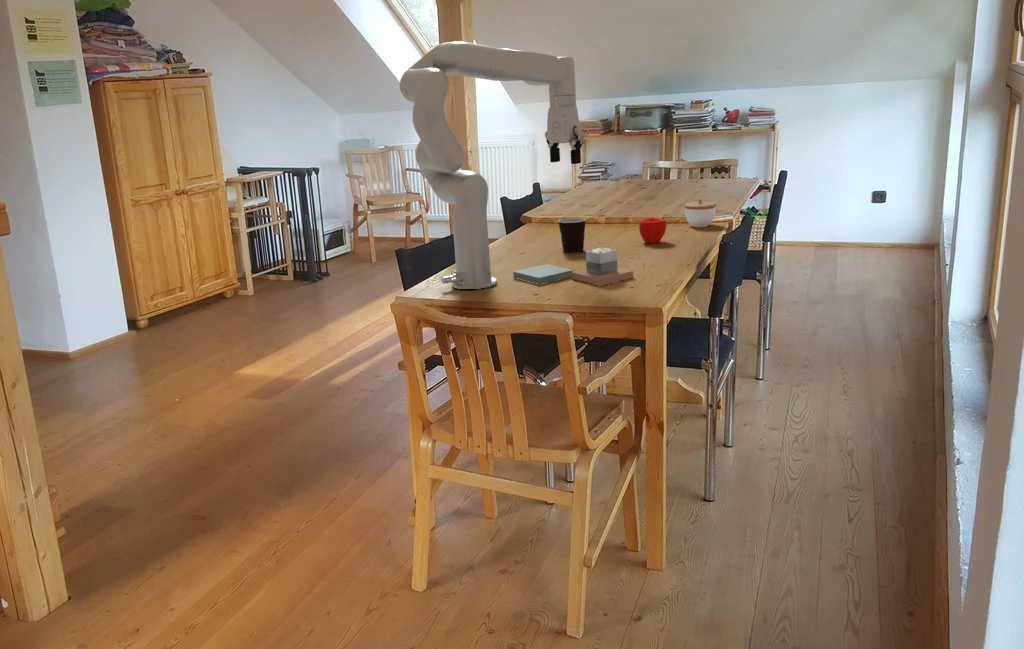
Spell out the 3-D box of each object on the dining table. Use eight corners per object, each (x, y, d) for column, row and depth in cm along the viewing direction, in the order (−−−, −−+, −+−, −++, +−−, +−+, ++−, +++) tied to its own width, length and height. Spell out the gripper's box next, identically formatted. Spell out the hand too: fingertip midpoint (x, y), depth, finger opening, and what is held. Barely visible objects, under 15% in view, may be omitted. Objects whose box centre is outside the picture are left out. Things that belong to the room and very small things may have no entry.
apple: (671, 242, 280) (671, 218, 278) (648, 246, 277) (647, 222, 275) (657, 238, 288) (657, 215, 286) (634, 242, 285) (633, 218, 283)
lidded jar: (719, 223, 307) (720, 197, 304) (709, 229, 298) (709, 202, 296) (691, 222, 313) (691, 196, 310) (680, 227, 304) (679, 201, 301)
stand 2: (600, 286, 231) (600, 279, 230) (572, 279, 240) (571, 272, 240) (633, 278, 237) (633, 270, 237) (604, 271, 247) (604, 264, 246)
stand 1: (539, 285, 236) (538, 277, 236) (513, 278, 246) (513, 271, 245) (573, 277, 243) (572, 270, 242) (546, 270, 252) (546, 264, 252)
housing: (601, 275, 234) (600, 253, 232) (586, 272, 239) (585, 250, 237) (617, 271, 237) (616, 249, 236) (602, 268, 242) (602, 246, 240)
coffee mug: (581, 254, 271) (580, 223, 268) (555, 253, 275) (554, 222, 272) (593, 247, 281) (592, 216, 278) (568, 246, 285) (567, 216, 282)
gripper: (534, 103, 250) (537, 162, 255) (571, 102, 236) (574, 165, 241) (554, 101, 254) (557, 160, 259) (592, 100, 240) (594, 162, 245)
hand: (565, 162), depth 250 cm, fingers open, 9 cm apart
